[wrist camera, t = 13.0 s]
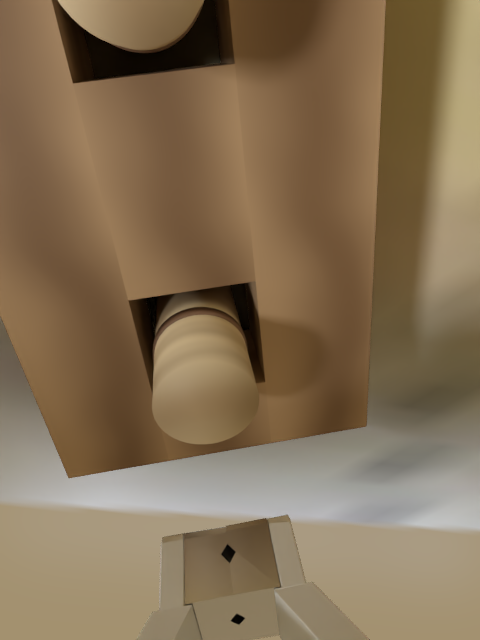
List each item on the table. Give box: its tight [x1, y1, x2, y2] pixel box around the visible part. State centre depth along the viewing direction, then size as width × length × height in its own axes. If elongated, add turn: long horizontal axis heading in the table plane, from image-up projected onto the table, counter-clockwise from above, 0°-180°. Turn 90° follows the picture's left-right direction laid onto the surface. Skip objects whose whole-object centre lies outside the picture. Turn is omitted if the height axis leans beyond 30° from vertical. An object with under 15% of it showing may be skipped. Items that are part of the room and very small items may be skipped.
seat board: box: [0, 0, 386, 478], centre depth 17 cm, size 14×24×4 cm, turn 6°
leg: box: [152, 285, 259, 444], centre depth 19 cm, size 4×4×8 cm
